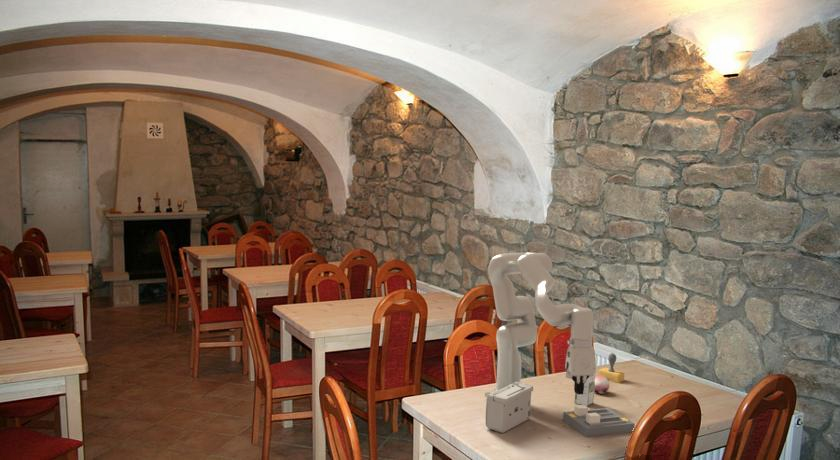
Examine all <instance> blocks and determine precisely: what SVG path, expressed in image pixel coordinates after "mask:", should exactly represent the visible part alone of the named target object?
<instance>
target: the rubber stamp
mask: <svg viewBox="0 0 840 460" xmlns="http://www.w3.org/2000/svg"><path fill="white" fill-rule="evenodd" d="M616 361H617V355H616V354H615V353H610V354H608V363H609V365H610V367H609V368H608V367H603V368H600V369H598V375H601V376H603V377H605V378H606V379H607V380H608V381H611V382H613V381H614V383H618V384H619V383H621V382H623V381H624V382H625V372H623V371H619V370H616V369H614V366H615V363H616Z"/></svg>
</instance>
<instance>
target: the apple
mask: <svg viewBox="0 0 840 460" xmlns="http://www.w3.org/2000/svg"><path fill="white" fill-rule="evenodd" d="M609 381H610V380H607V379H606V378H605V377H603V376H601V375H599V374H596V375H595V387H594V394H600V395H604V394H605V392H606V393H607V392H609V390H610V382H609Z"/></svg>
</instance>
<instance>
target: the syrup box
mask: <svg viewBox="0 0 840 460" xmlns="http://www.w3.org/2000/svg"><path fill="white" fill-rule="evenodd" d="M596 373H597V371H596V372H595V374H594V375H593V376H592V377H589V378H588V379H587V380H586V383H584V391H583V394H580V395H579V394H577V393H575V392H574V403H575V404H577V405H585V406H586V407H588V406H590V405H592V404H593V403H594V400H595V399H594V398H595V391H594V387H595V377H596V375H597V374H596Z"/></svg>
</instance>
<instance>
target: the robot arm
mask: <svg viewBox="0 0 840 460" xmlns="http://www.w3.org/2000/svg"><path fill="white" fill-rule="evenodd" d="M487 268H488V269H487V271H488V277H489V281H490V282H491V286H492V290H493V293H492V294H493V298H494V304H495V305H494V306H495V311H496V316H497V317H498V319H499V320H500V321H503V322H504V321H506V322H507V321H517V322H516V323H515V322H514V323H507V324H504V325H502V326H499V328H498V329H497V330H496V334H495V339H496V346H497V367H496V368H497V369H496V370H497V371H496V387H495V388H494V389H493V390H492V391H487V392H486V391H485V392H484V397H485V398H487V395H488V394H490V393H493V392H495V391H497V390H499V389H502V388H504V387H506V386H508V385H510V384H513V383H515V382H520V383H521V378H522V377H521V376H522V374H521V373H522V356H521V353H520V351H519V349H518V348H521V347H528V346H532V345H533V344H535V343H536V342H537V338H538V328H537V323H536V316H535V309H534V305H533V303H532V301H531V300H530V298H529V297H527V296H525V295H516V291H515V285H514V283H513V281H512V280H511V278H510V277H509V275H519V274H521V275H522V277H523V278H524V279H525V280H526V282H527V283H528V284H529V285H530V287H531V289H532V290H533V291H534V293H535V294H534V303H535V306H536V307H535V308H536V310H537V312H538V313H539V315H540V316H541V317H542V319H543V320H544V321H545V322H546V323H547V324H548V325H550V326H553V327H559V326H568V325H569V326H570V338H569V340H567V344H568V346H567V351H566V356H565V357H566V358H565V365H564V366H565V370H564V371H565V377H566V378H567V379H568V380H569V379H571V380H572V381H573V382H574V384H573V385H574V386H573V391H574V394H575V393H577V394H579V395H580V394H583V391H584V383H586V380H587V379H588V378H589V377H592V376H593V375H594V374H595V372H596V373H597V362H596V361H597V360H596V352H595V347H594V346H593V332H594V311H593V310H592V309H591V308H588V307H583V306H580V305H578V304H577V303H576V304H575V303H561V304H554V303H553V301H552V300H551V299H550V297H549V296H548V293H549V292H550V291H551V290H552V289H553V288H554V286H555V279H554V278H553V277H552V275H551V274H550V272H551V271H552V269H553V262H552V259H551V257H550V256H549V255H548V254H546V253H545V252H509V253H500V254H496V255H495V256H493V257H492V258H491V259H490V261H489V264H488V267H487ZM595 375H596V374H595ZM505 378H506V379H507V380H509V381H511V382H513V383H511V382H509V381H507V380H505Z"/></svg>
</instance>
